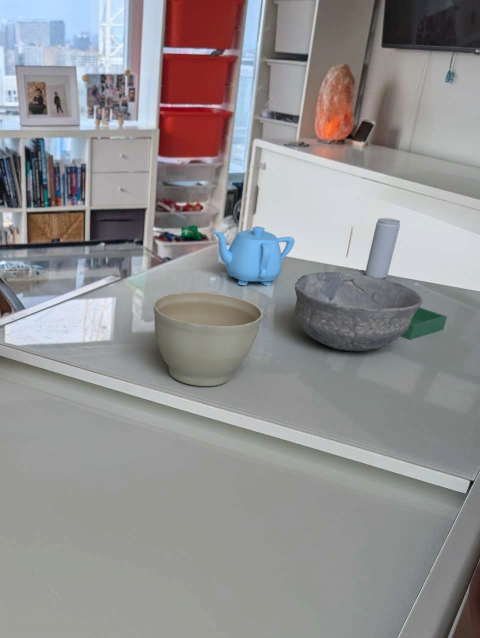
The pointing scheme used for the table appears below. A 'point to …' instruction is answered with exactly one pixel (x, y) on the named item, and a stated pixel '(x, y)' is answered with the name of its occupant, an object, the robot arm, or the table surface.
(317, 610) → the table surface
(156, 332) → the planter bowl
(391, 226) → the beverage can
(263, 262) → the teapot
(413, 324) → the green tray
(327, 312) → the bowl
